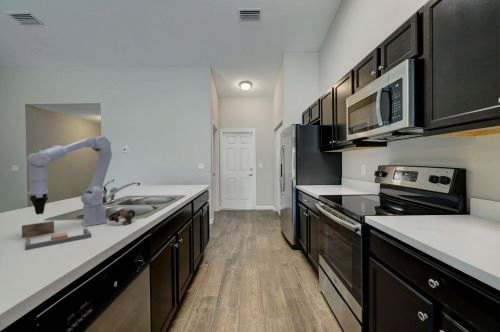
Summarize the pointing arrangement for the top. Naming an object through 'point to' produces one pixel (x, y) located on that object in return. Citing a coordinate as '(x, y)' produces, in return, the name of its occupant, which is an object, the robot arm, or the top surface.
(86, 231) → the bay
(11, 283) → the top surface
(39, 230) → the brown wooden board
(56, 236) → the tile
